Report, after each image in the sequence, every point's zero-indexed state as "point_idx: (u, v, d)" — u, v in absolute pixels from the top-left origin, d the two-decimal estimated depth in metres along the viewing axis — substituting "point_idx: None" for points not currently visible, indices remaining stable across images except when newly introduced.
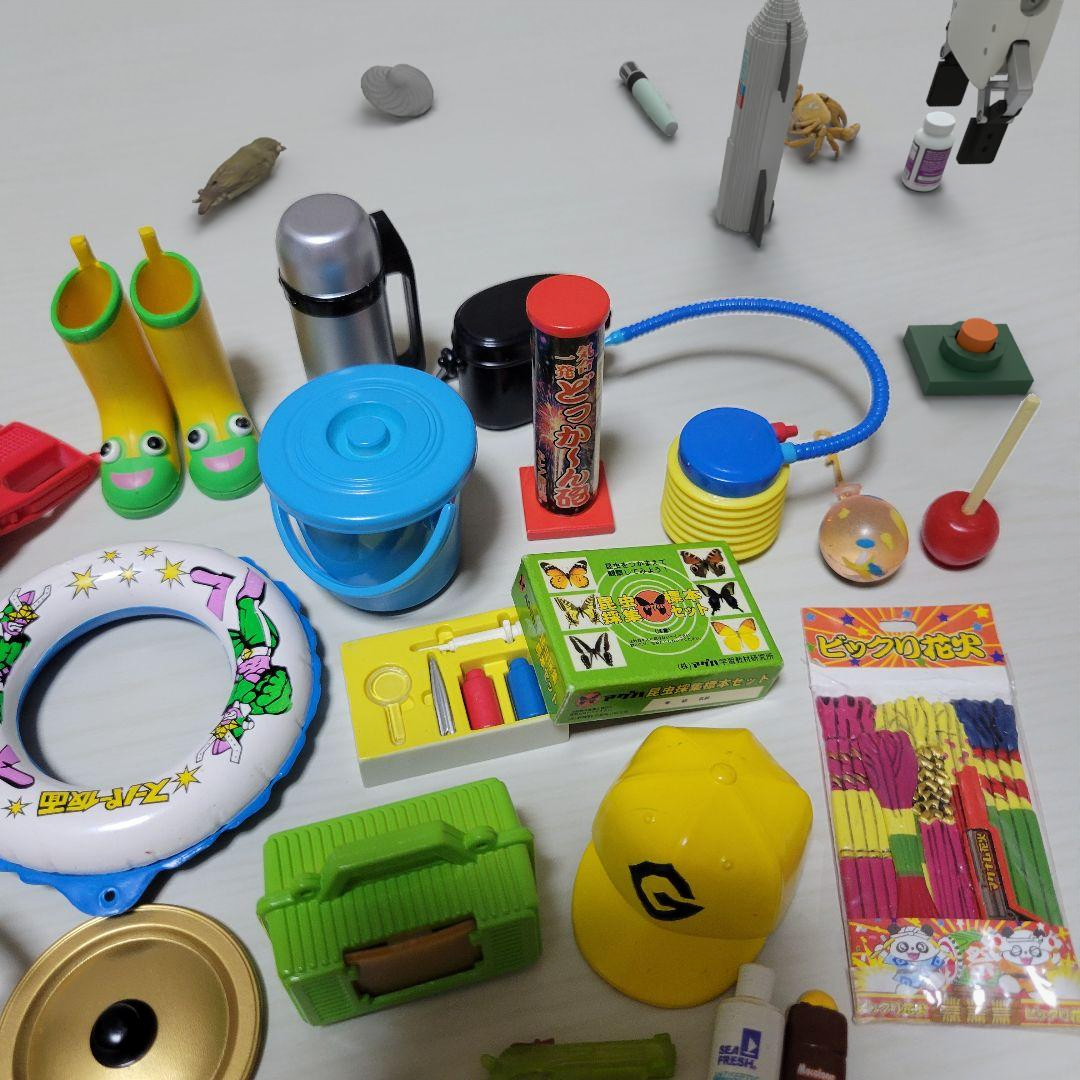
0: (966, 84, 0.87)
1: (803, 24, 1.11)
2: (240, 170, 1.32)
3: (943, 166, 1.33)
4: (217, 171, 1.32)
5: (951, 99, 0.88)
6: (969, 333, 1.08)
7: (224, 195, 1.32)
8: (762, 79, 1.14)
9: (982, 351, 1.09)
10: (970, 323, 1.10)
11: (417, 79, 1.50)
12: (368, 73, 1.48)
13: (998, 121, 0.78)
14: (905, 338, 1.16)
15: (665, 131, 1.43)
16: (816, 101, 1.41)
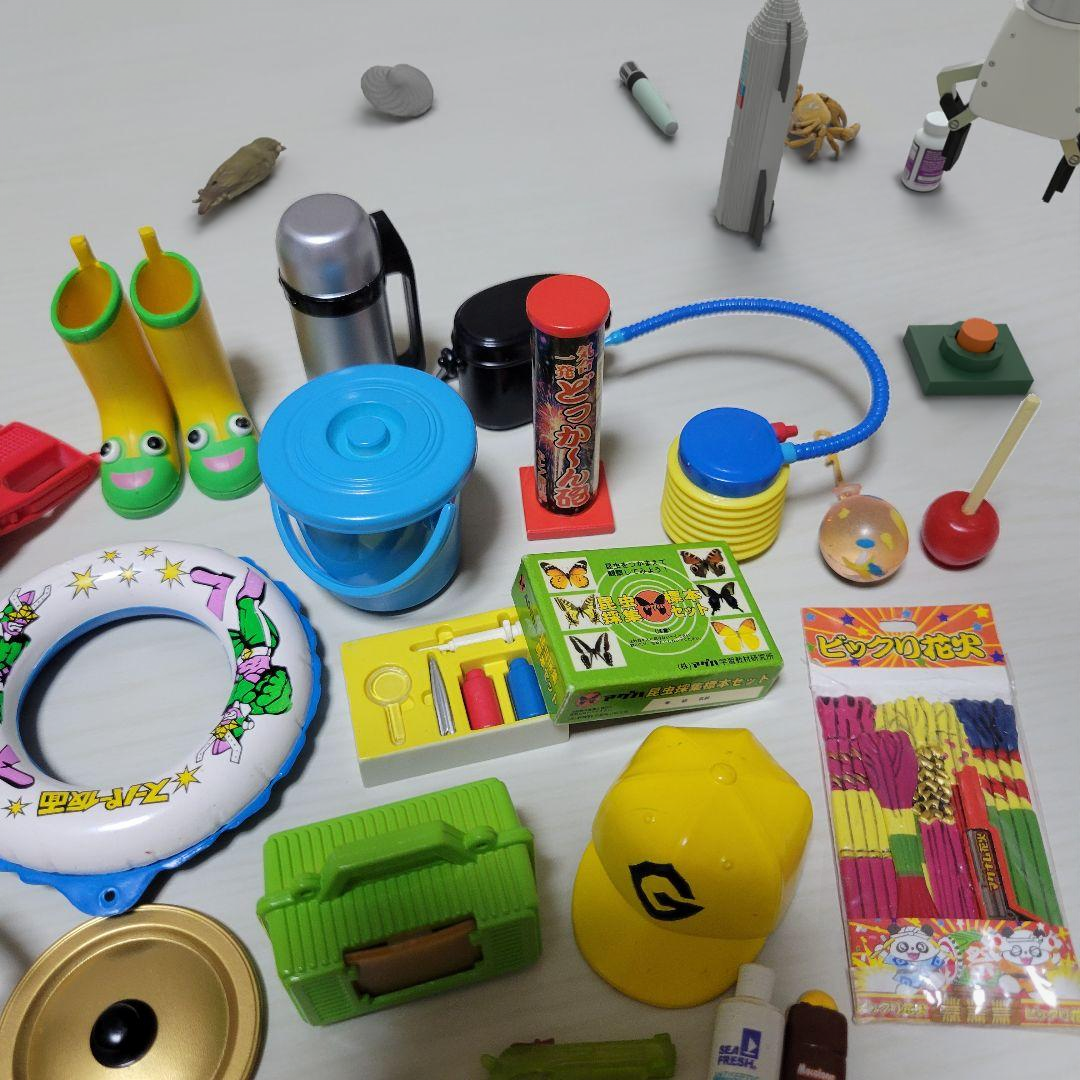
0: (965, 139, 0.92)
1: (803, 24, 1.11)
2: (240, 170, 1.32)
3: None
4: (217, 171, 1.32)
5: (957, 156, 0.93)
6: (969, 333, 1.08)
7: (224, 195, 1.32)
8: (762, 79, 1.14)
9: (982, 351, 1.09)
10: (970, 323, 1.10)
11: (417, 79, 1.50)
12: (368, 73, 1.48)
13: None
14: (905, 338, 1.16)
15: (665, 131, 1.43)
16: (816, 101, 1.41)
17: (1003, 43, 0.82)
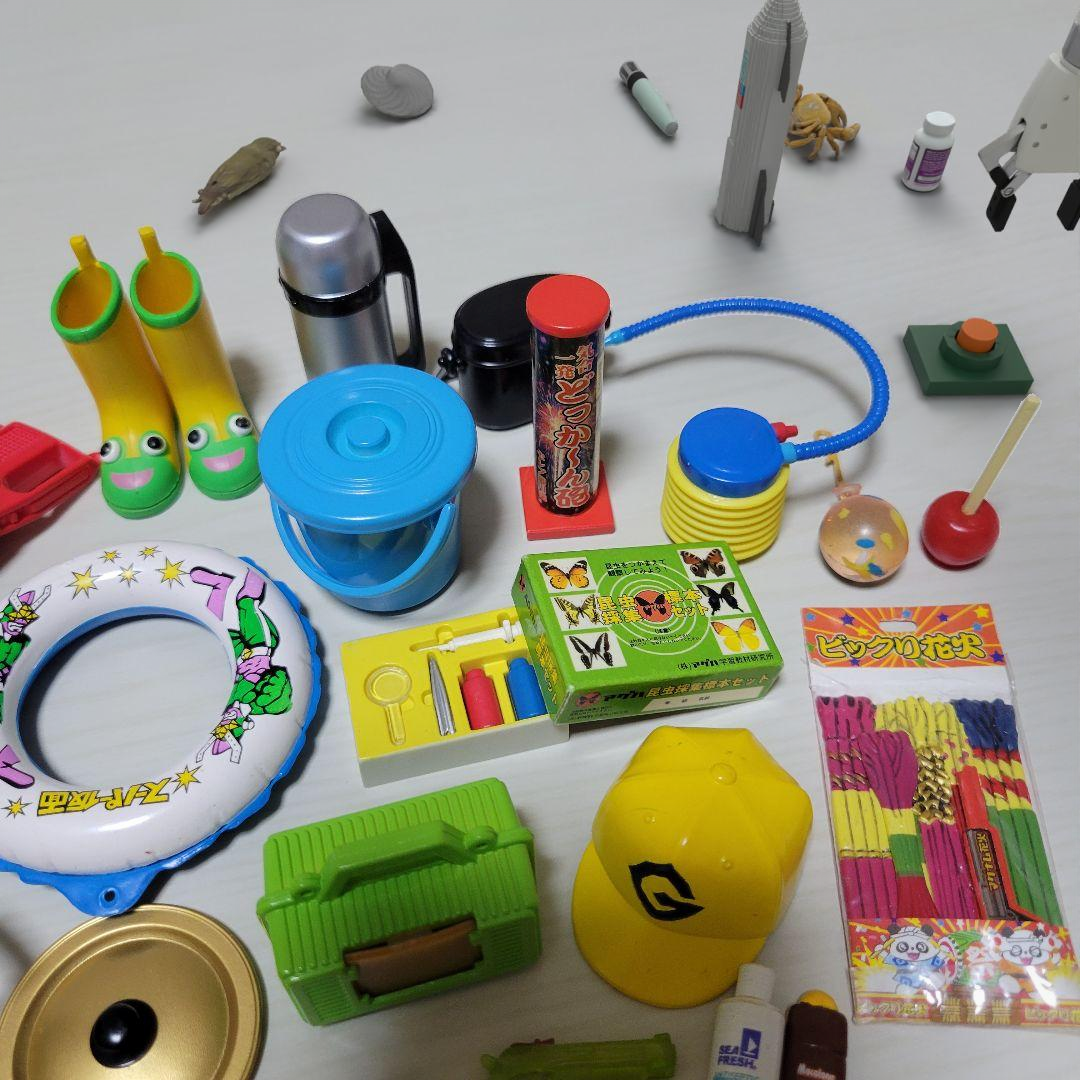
0: None
1: (803, 24, 1.11)
2: (240, 170, 1.32)
3: (943, 166, 1.33)
4: (217, 171, 1.32)
5: None
6: (969, 333, 1.08)
7: (224, 195, 1.32)
8: (761, 79, 1.14)
9: (982, 351, 1.09)
10: (970, 323, 1.10)
11: (417, 79, 1.50)
12: (368, 73, 1.48)
13: None
14: (905, 338, 1.16)
15: (665, 131, 1.43)
16: (816, 101, 1.41)
17: (1055, 107, 0.86)
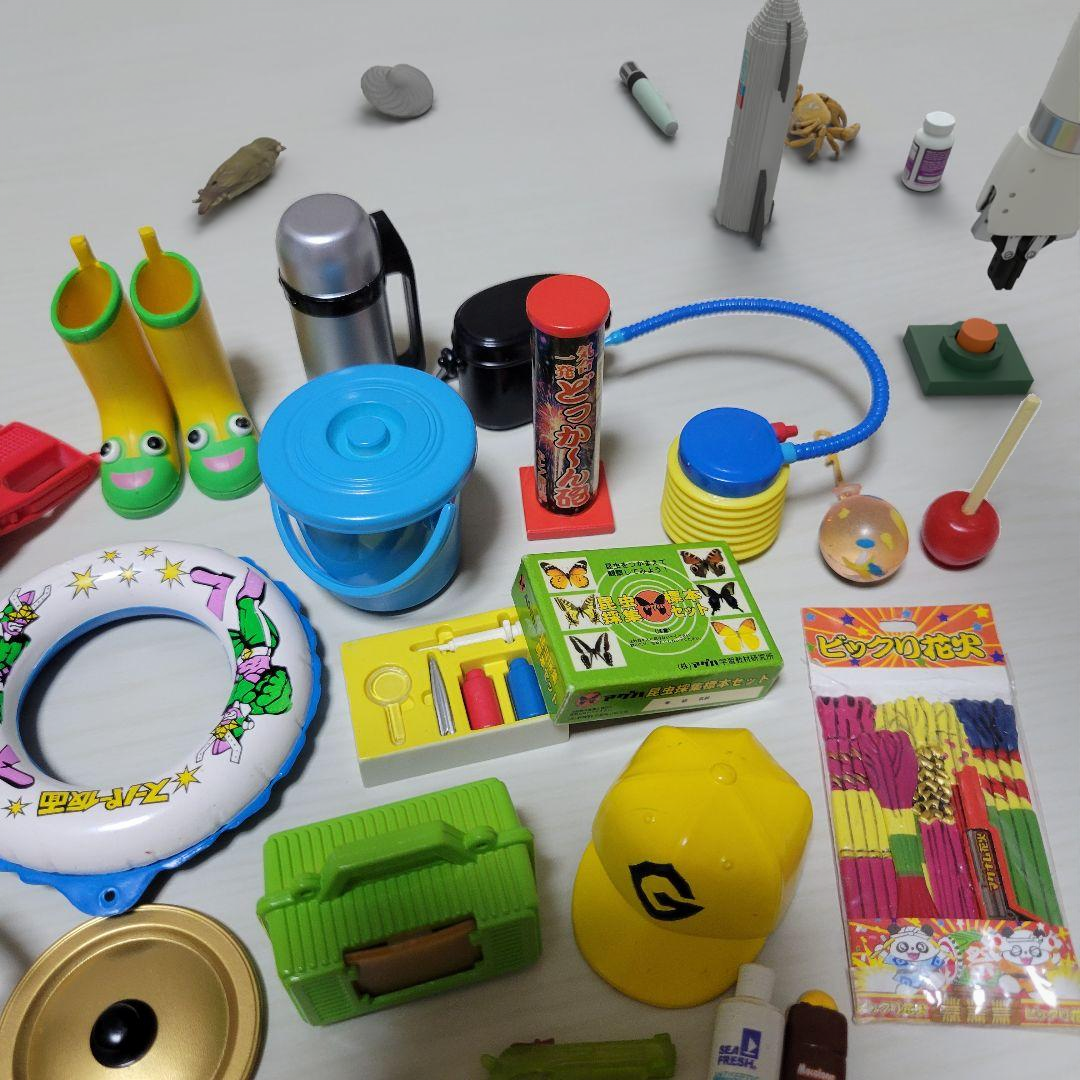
0: None
1: (803, 24, 1.11)
2: (240, 170, 1.32)
3: (943, 166, 1.33)
4: (217, 171, 1.32)
5: None
6: (969, 333, 1.08)
7: (224, 195, 1.32)
8: (761, 79, 1.14)
9: (982, 351, 1.09)
10: (970, 323, 1.10)
11: (417, 79, 1.50)
12: (368, 73, 1.48)
13: None
14: (905, 338, 1.16)
15: (665, 131, 1.43)
16: (816, 101, 1.41)
17: (1022, 178, 0.91)
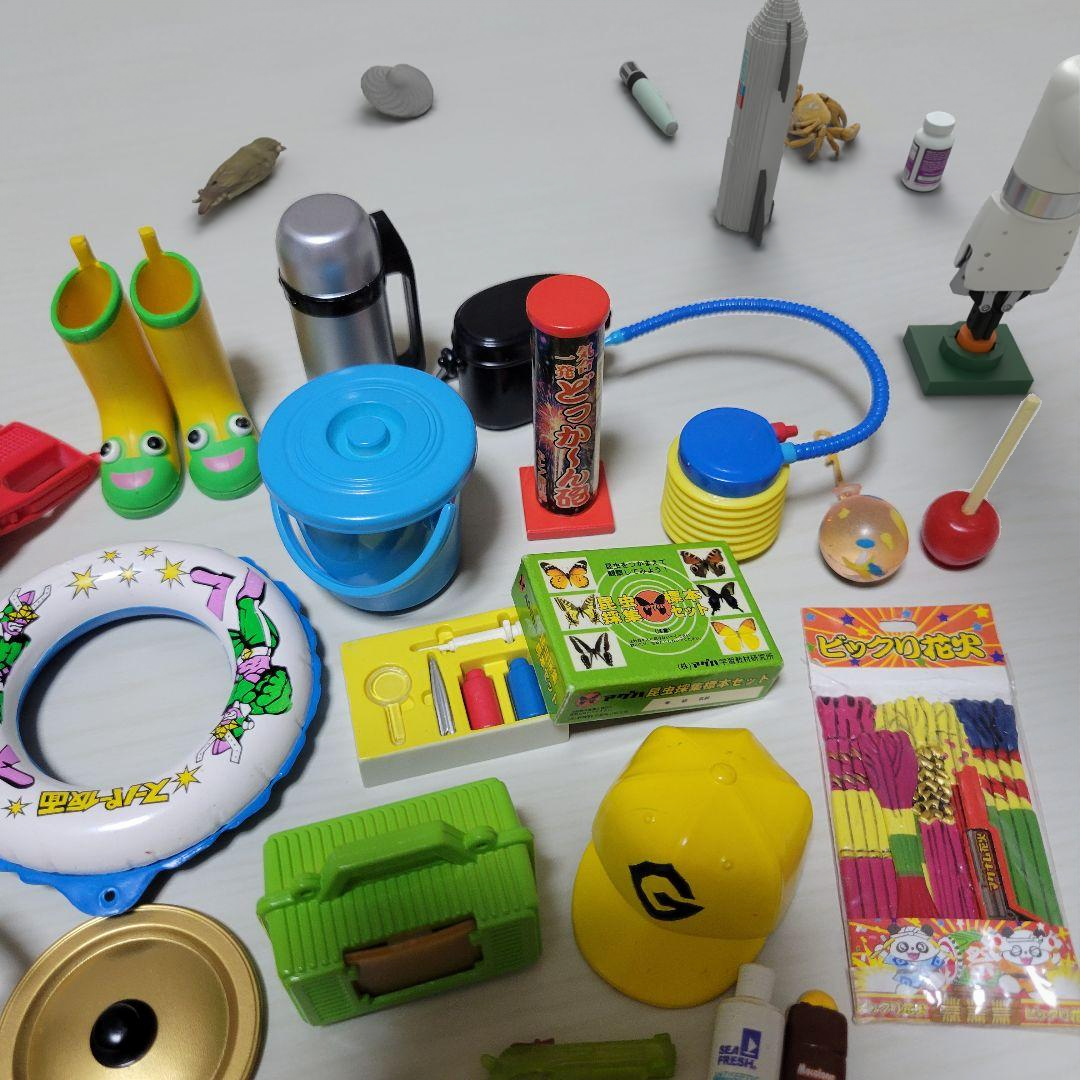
0: None
1: (803, 24, 1.11)
2: (240, 170, 1.32)
3: (943, 166, 1.33)
4: (217, 171, 1.32)
5: None
6: (968, 337, 1.09)
7: (224, 195, 1.32)
8: (762, 79, 1.14)
9: None
10: None
11: (417, 79, 1.50)
12: (368, 73, 1.48)
13: None
14: (905, 338, 1.16)
15: (665, 131, 1.43)
16: (816, 101, 1.41)
17: (996, 239, 0.97)
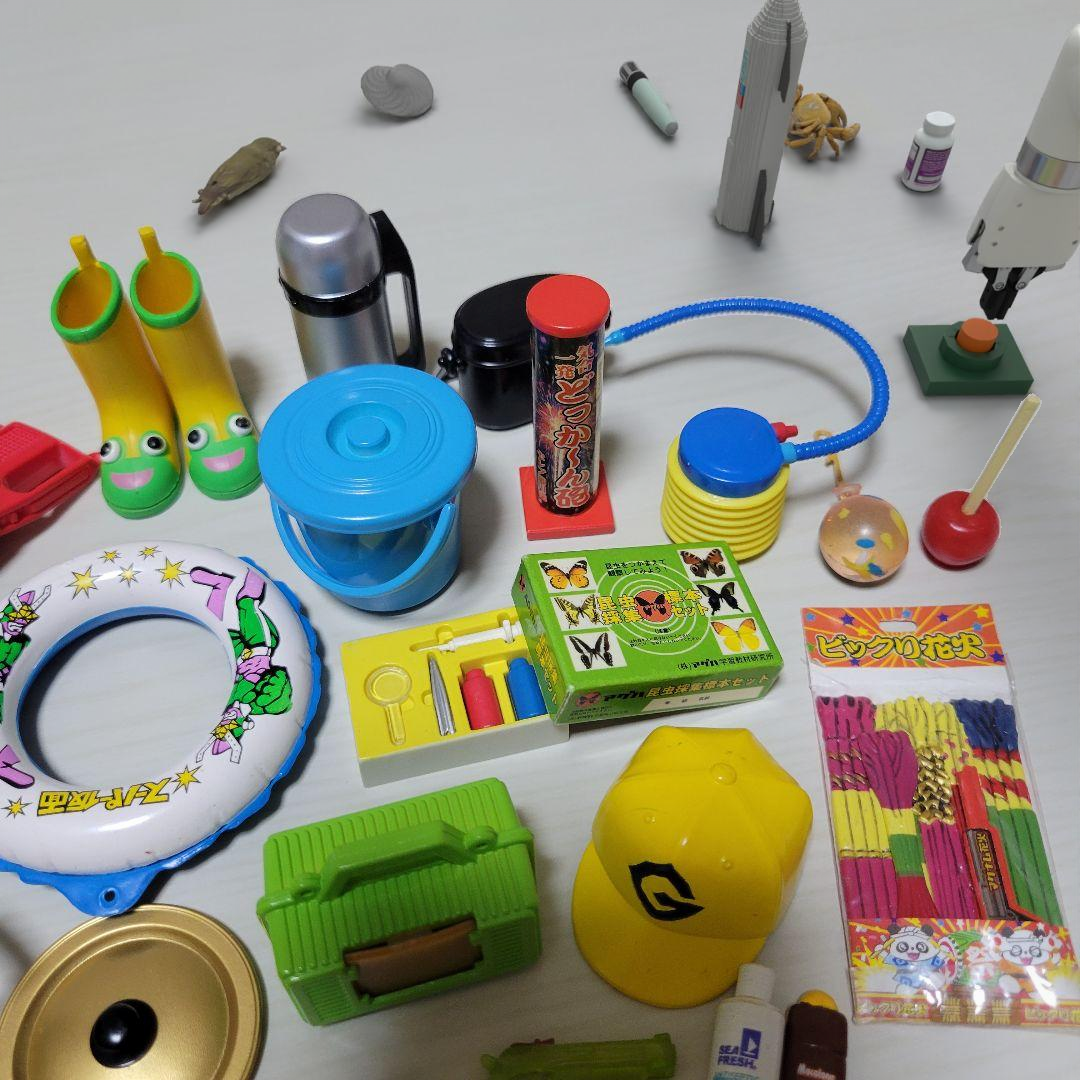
0: None
1: (803, 24, 1.11)
2: (240, 170, 1.32)
3: (943, 166, 1.33)
4: (217, 171, 1.32)
5: None
6: (969, 333, 1.08)
7: (224, 195, 1.32)
8: (761, 79, 1.14)
9: (982, 351, 1.09)
10: (970, 323, 1.10)
11: (417, 79, 1.50)
12: (368, 73, 1.48)
13: None
14: (905, 338, 1.16)
15: (665, 131, 1.43)
16: (816, 101, 1.41)
17: (1010, 212, 0.94)
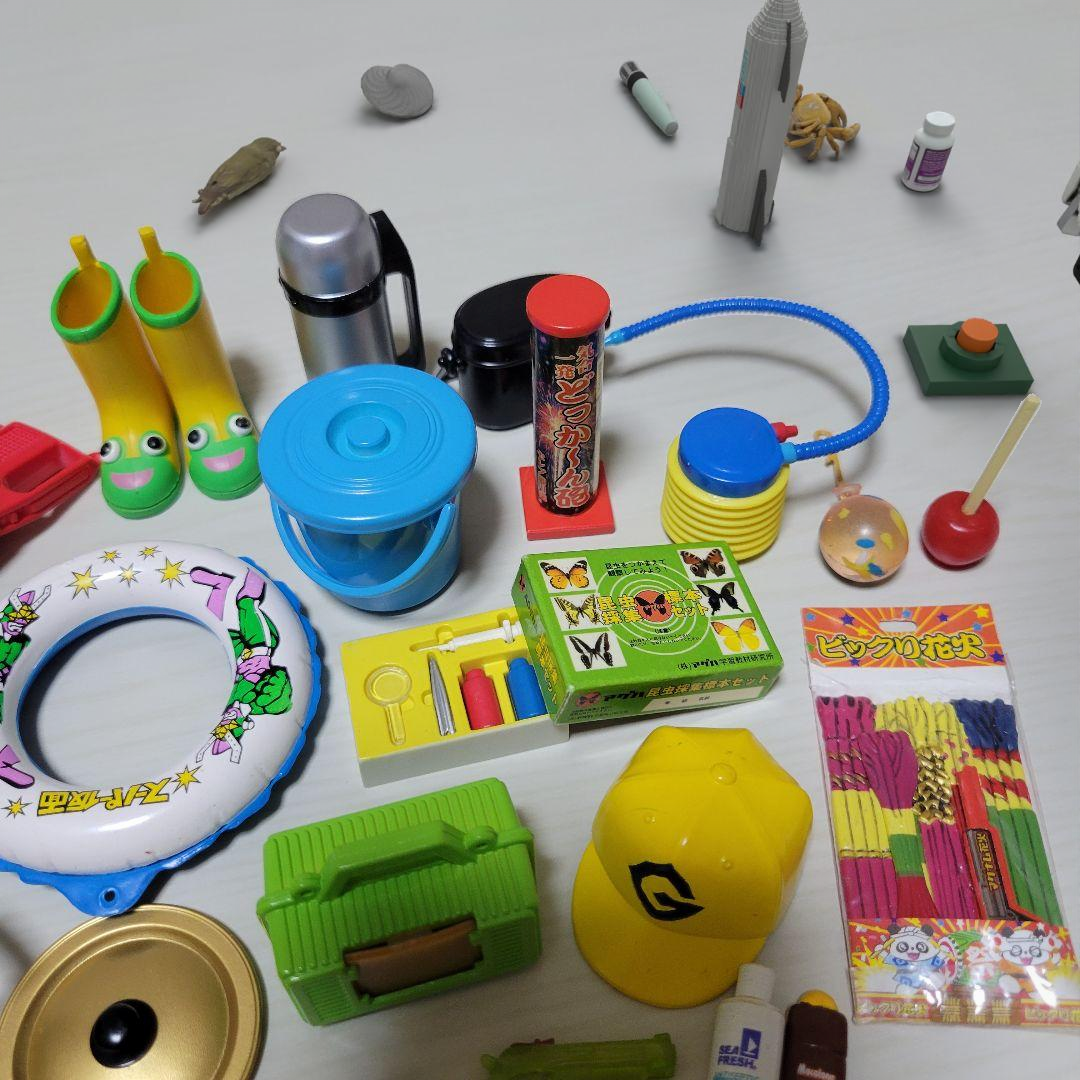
0: None
1: (803, 24, 1.11)
2: (240, 170, 1.32)
3: (943, 166, 1.33)
4: (217, 171, 1.32)
5: None
6: (969, 333, 1.08)
7: (224, 195, 1.32)
8: (761, 79, 1.14)
9: (982, 351, 1.09)
10: (970, 323, 1.10)
11: (417, 79, 1.50)
12: (368, 73, 1.48)
13: None
14: (905, 338, 1.16)
15: (665, 131, 1.43)
16: (816, 101, 1.41)
17: None
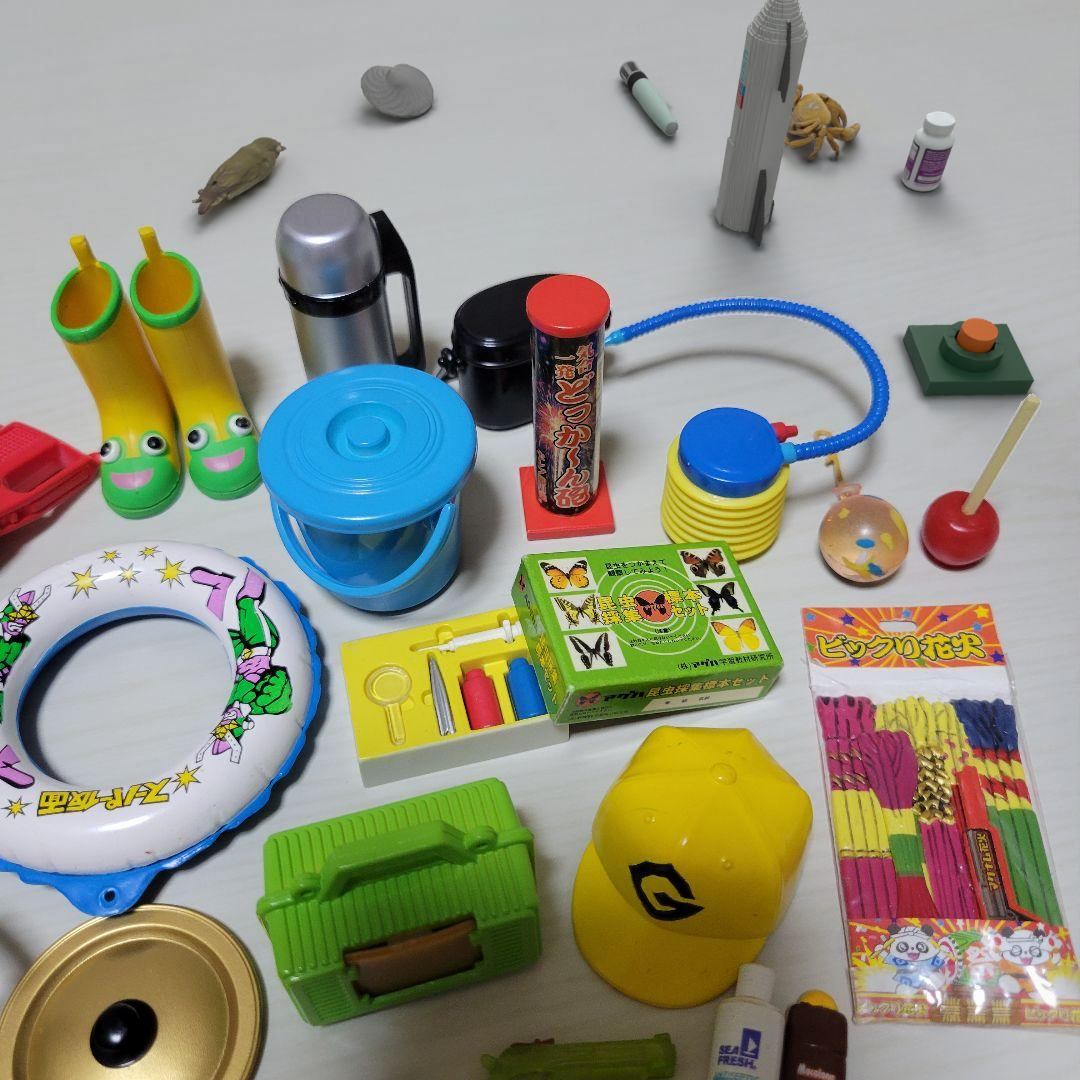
0: None
1: (803, 24, 1.11)
2: (240, 170, 1.32)
3: (943, 166, 1.33)
4: (217, 171, 1.32)
5: None
6: (969, 333, 1.08)
7: (224, 195, 1.32)
8: (761, 79, 1.14)
9: (982, 351, 1.09)
10: (970, 323, 1.10)
11: (417, 79, 1.50)
12: (368, 73, 1.48)
13: None
14: (905, 338, 1.16)
15: (665, 131, 1.43)
16: (816, 101, 1.41)
17: None
